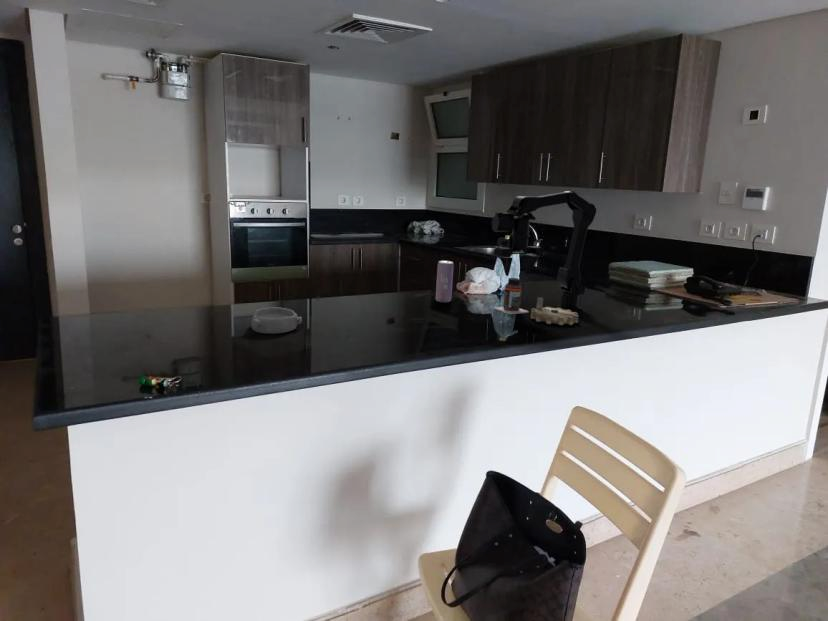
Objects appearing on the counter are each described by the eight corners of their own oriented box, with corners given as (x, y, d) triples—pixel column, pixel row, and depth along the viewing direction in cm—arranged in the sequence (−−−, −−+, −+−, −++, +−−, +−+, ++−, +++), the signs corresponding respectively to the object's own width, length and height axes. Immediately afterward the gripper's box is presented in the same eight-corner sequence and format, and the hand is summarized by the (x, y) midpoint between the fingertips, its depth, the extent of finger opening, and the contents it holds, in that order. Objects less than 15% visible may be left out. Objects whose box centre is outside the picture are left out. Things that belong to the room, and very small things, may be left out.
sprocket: (539, 311, 208) (541, 293, 206) (583, 318, 200) (585, 300, 198) (523, 319, 195) (525, 300, 193) (569, 327, 187) (571, 308, 185)
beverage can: (451, 299, 221) (454, 261, 217) (450, 303, 215) (453, 263, 212) (435, 298, 221) (438, 260, 218) (434, 301, 215) (437, 262, 212)
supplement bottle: (501, 307, 211) (504, 276, 208) (517, 307, 211) (520, 277, 209) (505, 310, 205) (508, 279, 202) (521, 311, 205) (524, 280, 203)
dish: (255, 337, 159) (255, 319, 158) (244, 324, 171) (244, 308, 170) (305, 333, 166) (305, 316, 165) (292, 321, 178) (292, 305, 177)
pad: (512, 307, 214) (513, 305, 214) (528, 312, 206) (528, 311, 206) (493, 308, 210) (493, 307, 210) (508, 314, 202) (508, 313, 202)
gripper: (525, 229, 216) (522, 270, 219) (486, 230, 207) (482, 272, 210) (546, 232, 206) (542, 275, 210) (505, 233, 197) (501, 277, 201)
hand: (516, 275), depth 208 cm, fingers open, 9 cm apart
